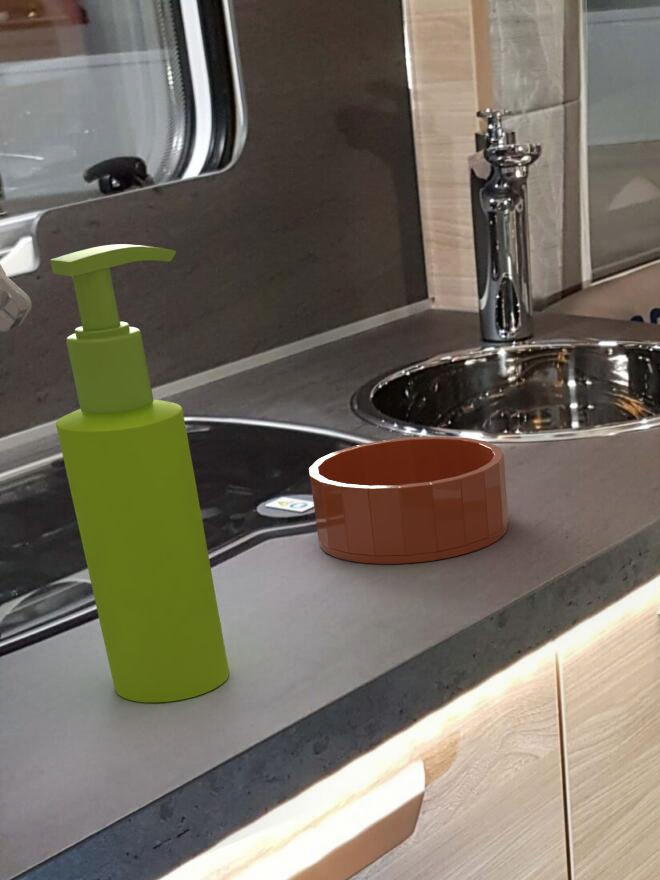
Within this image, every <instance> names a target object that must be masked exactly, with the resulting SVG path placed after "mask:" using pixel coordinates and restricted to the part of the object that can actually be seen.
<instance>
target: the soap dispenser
mask: <svg viewBox="0 0 660 880" xmlns="http://www.w3.org/2000/svg"><path fill="white" fill-rule="evenodd" d="M176 253H177V250H174V249H169V248H164V247H156V246H149V245H140V244H129V243H128V244H127V243H125V244H123V243H120V244H119V243H118V244H106V245H98V246H94V247H90V248H86V249H81V250H78V251H74V252H70V253H68V254H64V255H60V256H58V257H55V258H51V259H50V260H49V261H50V265H51V271H52V274H53V275H59V276H65V277H71V278H72V282H73V287H74V292H75V298H76V301H77V302H76V303H77V307H78V313H79V317H80V321H81V326H78V327H76V328H75V329H74V333H72V334H70V335H69V336H67V337H66V347H67V351H68V357H69V361H70V366H71V371H72V375H73V379H74V380H73V381H74V385H75V389H76V395H77V399H78V404H79V409H76V410H74V411H72V412H69V413H67V414H65V415H63V416H62V417H60V418H58V420H56V422H55V427H56V431H57V436H58V440H59V445H60V450H61V454H62V459H63V462H64V468H65V471H66V477H67V480H68V486H69V490H70V495H71V498H72V504H73V508H74V512H75V518H76V521H77V526H78V530H79V535H80V540H81V544H82V549H83V554H84V557H85V562H86V567H87V571H88V575H89V580H90V584H91V588H92V594H93V599H94V602H95V607H96V611H97V616H98V620H99V626H100V629H101V634H102V638H103V643H104V647H105V652H106V656H107V661H108V665H109V668H110V674H111V679H112V683H113V688H114V691H115V693H116V694H117V695H118V696H119V697H121V698H123V699H125V700H128V701H132V702H139V703H148V704H149V703H150V704H151V703H153V704H154V703H167V702H168V703H169V702H176V701H181V700H185V699H186V700H187V699H191V698H195V697H197V696H201V695H203V694H206V693H208V692H211V691H213V690H215V689H217V688H218V687H220V686H221V685H223V684H224V683H225V682H226V681H227V680H228V678H229V675H230V668H229V663H228V658H227V651H226V647H225V641H224V634H223V629H222V623H221V618H220V614H219V613H220V612H219V606H218V601H217V595H216V590H215V584H214V578H213V574H212V568H211V562H210V557H209V550H208V545H207V539H206V534H205V528H204V521H203V516H202V512H201V505H200V501H199V495H198V489H197V483H196V477H195V471H194V466H193V461H192V454H191V449H190V448H191V447H190V444H189V438H188V432H187V426H186V420H185V415H184V410H183V407H182V406H181V405H180V404H178V403H175V402H172V401H167V400H161V399H154V395H153V389H152V385H151V378H150V374H149V368H148V363H147V358H146V353H145V348H144V341H143V336H142V332H141V330H140V329H139V328H137V327H135V326H130V324H129V323H128V322H125V321H120V315H119V310H118V305H117V300H116V295H115V290H114V284H113V279H112V273H111V268H114V267H117V266H122V265H125V264H126V265H127V264H129V263H136V262H144V261H157V262H171V261H173V259H174V258H175V256H176Z"/></svg>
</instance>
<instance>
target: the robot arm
mask: <svg viewBox="0 0 660 880" xmlns="http://www.w3.org/2000/svg"><path fill="white" fill-rule="evenodd" d="M32 305H33V304H32V300H31V298H30V296H29V295H28V293H26V292H25V291H24V290H23V289H21V288H20V287H19V286H18V285H17V284H16V283H15V282H14V281H13V280H12V279H10V277H8V276H7V274H6V272H5V270H4V268H3V266H2V265H1V264H0V332H3V333H6V332H8V331H12V330H14V329H15V328H18V327H20V326H21V325H22V324H23V323H24V321H25V320H26V318H27V316H28V314H29V313H30V311H31V310H32V308H33V307H32Z"/></svg>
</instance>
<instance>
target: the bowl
mask: <svg viewBox="0 0 660 880" xmlns="http://www.w3.org/2000/svg"><path fill="white" fill-rule="evenodd" d="M505 465H506V464H505V455H504V453H503V451H502V448H500V446H497V445H495V444H493V443H491V442H489V441H487V440H482V439H481V440H480V439H475V438H469V437H463V436H462V437H460V436H444V435H442V436H441V435H436V436H435V435H433V436H413V437H411V436H410V437H409V436H408V437H400V438H392V439H390V438H389V439H384V440H383V439H382V440H377V441H372V442H366V443H361V444H357V445H353V446H350V447H346V448H343V449H339V450H336V451H333V452H331V453H329V454H326V455H324V456H322V457H320V458H318V459H317V460H316V461H314V462H313V463H312V465H310V466H309V468H308V473H309V479H310V487H311V494H312V502H313V510H314V516H315V524H316V532H317V537H318V538H317V539H318V545H319V547H320V549H321V550H322V551H323V552H324V553H326V554H328V555H330V556H331V557H334V558H336V559H340V560H344V561H349V562H354V563H363V564H374V565H375V564H376V565H401V564H403V565H404V564H417V563H424V562H432V561H433V562H434V561H439V560H445V559H450V558H454V557H459V556H462V555H465V554H469V553H472V552H476V551H478V550H481V549H483V548H486V547H488V546H490V545H492V544H494V543H495V542H497V541H499V540H501V538H502V537H504V536H505V534H506V533H507V530H508V527H509V526H508V520H509V512H508V509H509V508H508V495H507V481H506V466H505Z"/></svg>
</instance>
